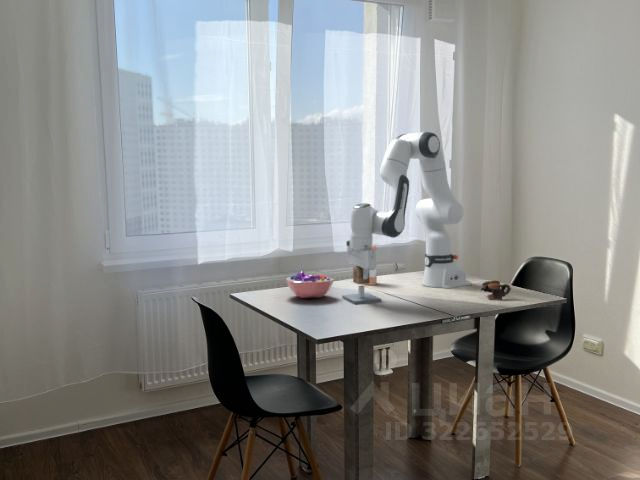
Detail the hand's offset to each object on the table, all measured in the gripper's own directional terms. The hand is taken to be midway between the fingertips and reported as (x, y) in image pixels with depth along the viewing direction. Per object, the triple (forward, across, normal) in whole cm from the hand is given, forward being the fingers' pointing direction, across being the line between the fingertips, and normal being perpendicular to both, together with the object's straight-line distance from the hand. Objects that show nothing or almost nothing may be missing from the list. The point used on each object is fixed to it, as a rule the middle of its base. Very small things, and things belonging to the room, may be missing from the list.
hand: (361, 277), depth 262 cm
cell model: (+10, +12, +18) cm, 24 cm away
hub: (+9, 0, 0) cm, 9 cm away
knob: (+2, 0, 0) cm, 2 cm away
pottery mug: (+10, -18, -53) cm, 57 cm away
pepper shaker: (+10, +28, -17) cm, 34 cm away
